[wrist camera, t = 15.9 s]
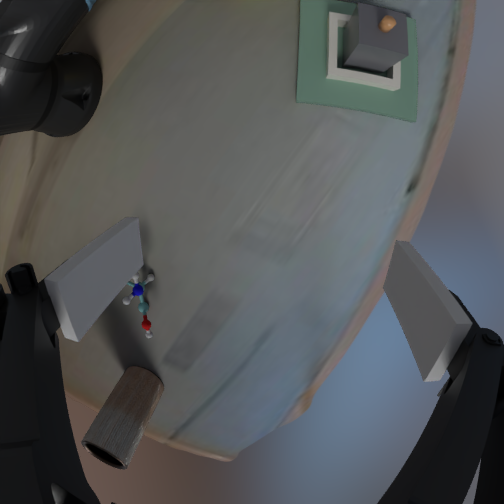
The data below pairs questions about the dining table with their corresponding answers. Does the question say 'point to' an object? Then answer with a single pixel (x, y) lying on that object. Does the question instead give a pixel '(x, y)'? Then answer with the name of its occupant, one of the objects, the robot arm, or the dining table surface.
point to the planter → (124, 417)
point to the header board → (349, 79)
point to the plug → (375, 38)
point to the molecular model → (143, 306)
